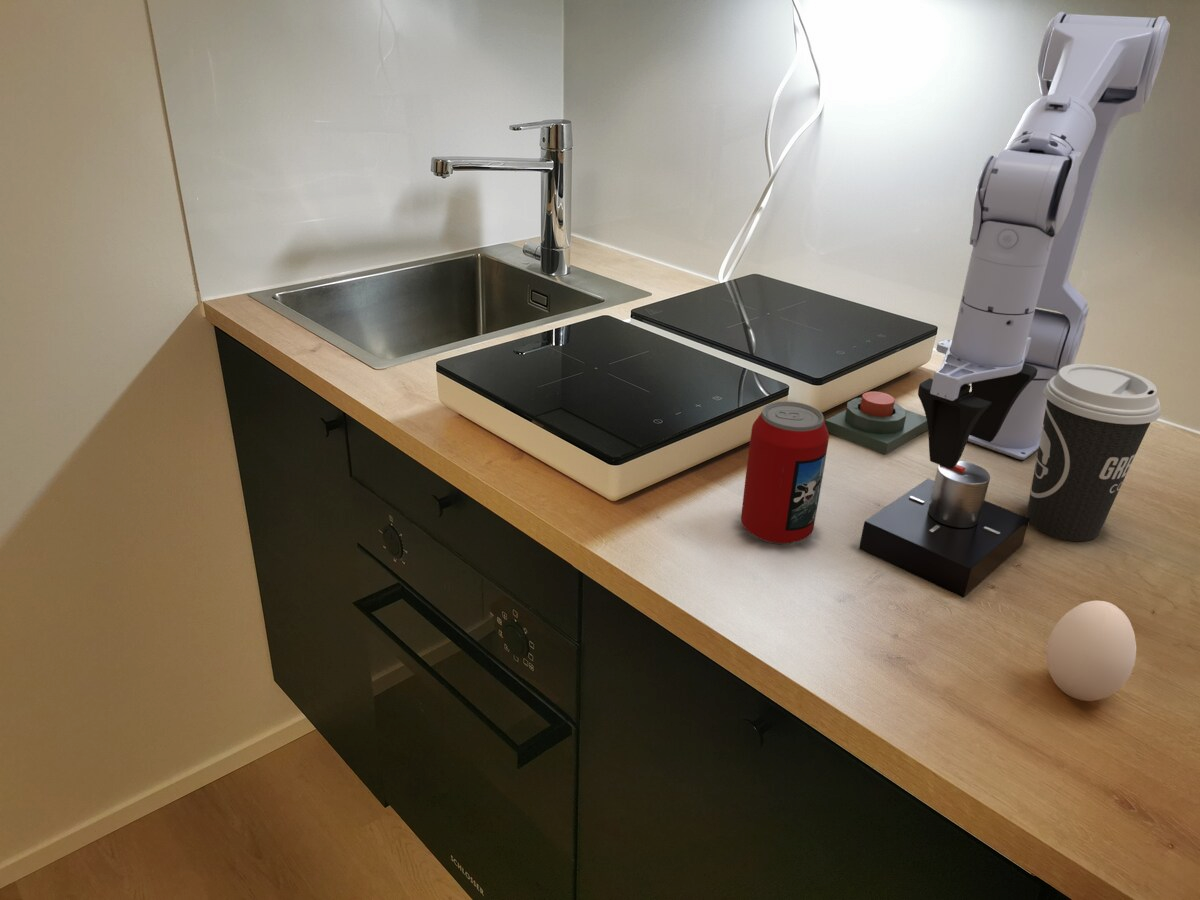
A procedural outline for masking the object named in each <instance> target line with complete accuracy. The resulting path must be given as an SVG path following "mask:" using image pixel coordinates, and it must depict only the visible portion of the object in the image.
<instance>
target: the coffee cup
mask: <svg viewBox="0 0 1200 900" xmlns="http://www.w3.org/2000/svg"><path fill="white" fill-rule="evenodd" d="M1043 393H1044V395H1045V397H1046V398H1047V403H1046V409H1045V415H1044V421H1043V426H1042V432H1041V437H1040V443H1039V448H1038V450H1037V454H1036V460H1035V464H1034V471H1033V477H1032V481H1031V487H1030V492H1029V498H1028V504H1027V509H1026V516H1025V517H1028V518H1030V520H1029V524H1030V525H1031V526H1032V527H1034V528H1035V529H1037V530H1038V531H1040V532H1042V533H1043V534H1046V535H1048V536H1049V537H1053V538H1056V539H1060V540H1063V541H1070V542H1088V541H1092V540H1094V539H1096V538H1097V537H1099V535H1100V533H1101V531H1102V529H1103V526H1104V524H1105V522H1106V520H1107V517H1108V515H1109V513H1110V511H1111V509H1112V507H1113V504H1114V502H1115V500H1116V498H1117V496H1118V494H1119V492H1120V489H1121V487H1122V485H1123V483H1124V482H1125V481H1124V480H1125V479H1126V476H1127V475H1128V472H1129V470H1130V468H1131V466H1132V463H1133V462H1134V459H1135V457H1136V455H1137V452H1138V451H1139V448H1140V446H1141V444H1142V442H1143V440H1144V437H1145V436H1146V433H1147V432H1148V430H1149V427H1150V425H1151V423H1153V422H1155V421H1157V420H1158V419H1159V418H1160V417H1161V414H1162V413H1161V412H1162V411H1161V409H1162V406H1161V401H1160V399H1159V398H1158V388H1157V386H1156V385H1155V384H1154V383H1153V382H1152V381H1151V380H1149V379H1148V378H1146V377H1143V376H1141V375H1140V374H1138V373H1135V372H1131V371H1129V370H1126V369H1123V368H1122V369H1121V368H1118V367H1114V366H1108V365H1103V364H1094V363H1074V364H1072V365H1067V366H1064V367H1062V368H1061V369H1060V370H1059V372H1058V373H1057V375H1056V376H1054V377H1053V378H1051V379H1050V381H1049V382H1048V383H1047V385H1046V386H1045V388H1044V390H1043Z"/></svg>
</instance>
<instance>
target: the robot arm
mask: <svg viewBox="0 0 1200 900" xmlns="http://www.w3.org/2000/svg"><path fill="white" fill-rule="evenodd" d="M1170 29H1171V23H1170V22H1169V20H1168V18H1167V16H1165V15H1162V16H1158V17H1145V16H1123V15H1100V14H1099V15H1097V14H1074V13H1068V12H1066V11H1059V12H1058V13H1057V14H1056V15H1055V16H1054V17H1052V18H1051V20H1050V21H1049V22H1048V24H1047V26H1046V29H1045V31H1044V35H1043V37H1042V41H1041V46H1040V50H1039V54H1038V59H1037V65H1036V66H1037V67H1036V68H1037V69H1036V75H1037V78H1038V84H1039V92H1040V94H1041V97H1040V98H1038V99H1036V100H1034V101H1033V102H1032V103H1031V104H1030V105H1029V106H1028V107H1027V108H1026V110H1025V111H1024V113H1023V114H1022V117H1021V119H1020V120H1019V122H1018V124H1017V126H1016V128H1015V129H1014V132H1013V133H1012V135H1011V137H1010V139H1009V141H1008V142H1007V145H1006V146H1005V148H1004V149H1002V150H1001V151H1000V152H999V153H998V156H994V155H993V154H990V155H989V156H988V157H987V159H986V161H985V162H984V164H983V167H982V170H981V171H980V175H979V178H978V181H977V184H976V189H975V193H974V200H973V213H972V214H973V216H972V217H973V218H972V227H971V231H970V237H969V245H971V246H972V250H971V252H970V253H971V254H970V258H969V261H968V267H967V272H966V276H965V281H964V285H963V288H962V289H963V290H962V294H961V298H960V302H959V308H958V312H957V316H956V321H955V326H954V331H953V335H952V339H948V338H947V339H943V340H941V341H939V342H937V344H936V349H935V350H936V351H937V353H940V354H944V358H943V360H942V363H941V366H940V368H939V369H937V370H936V371H935V372H934V373H933V377H932V378H931V377H929V378H927V379H925V380H924V381H922V382H920V383H919V386H918V389H917V396H918V398H919V401H920V403H921V405H922V408H923V411H924V416H926V419H927V425H928V430H927V434H928V435H927V436H928V452H929V453H928V454H929V455H928V456H929V461H930V462H931V463H934V464H937V465H938V466H939V465H941V466H944V467H947V468H949V469H952V468H954V467H955V466H956V464H957V463H958V461H960V459H961V457H962V455H963V453H964V450H965V448H966V446H967V442H970V443H973V444H975V445H978V446H980V447H983V448H986V449H989V450H992V451H995V452H998V453H1001V454H1003V455H1006V456H1010V457H1011V458H1014V459H1017V460H1026V459H1027V458H1028V457H1029V456H1031V455H1033V454H1034V453H1035V452H1037V451H1038V448H1039V443H1040V437H1041V432H1042V426H1043V421H1044V415H1045V409H1046V403H1047V398H1046V397H1045V395H1044V393H1043V390H1044V388H1045V386H1046V385H1047V383H1048V382H1049V381H1050V379H1051V378H1053V377H1054V376H1056V375H1057V373H1058V372H1059V370H1060V369H1061V368H1062V367H1064V366H1067V365H1072V364H1075V361H1076V358H1077V356H1078V353H1079V350H1080V348H1081V344H1082V340H1083V337H1084V334H1085V330H1086V329H1085V328H1086V324H1087V323H1086V321H1087V317H1088V314H1089V310H1090V309H1089V306H1088V301H1087V299H1086V298H1085V297H1084V296H1083V295H1082V294H1081V293H1080V292H1079V291H1078V290H1077V289H1076V288H1075V286H1074V285H1073V284H1072V283H1071V282H1070V280H1069V277H1070V274H1071V271H1072V267H1073V264H1074V260H1075V258H1076V257H1075V256H1076V253H1077V249H1078V246H1079V243H1080V240H1081V237H1082V232H1083V229H1084V226H1085V223H1086V222H1085V221H1086V219H1087V216H1088V212H1089V208H1090V205H1091V202H1092V199H1093V195H1094V191H1095V187H1096V184H1097V180H1098V177H1099V173H1100V170H1101V166H1102V163H1103V160H1104V156H1105V152H1106V149H1107V146H1108V143H1109V139H1110V138H1111V135H1112V133H1113V132H1114V130H1115V128H1116V127H1117V125H1118V124H1119V122H1120V120H1121V119H1122V118H1124V117H1127V116H1130V115H1135V114H1137V113H1141V112H1143V110H1144V107H1145V104H1147V103H1148V102H1149V100H1150V98H1151V94H1152V90H1153V87H1154V85H1155V82H1156V78H1157V76H1158V73H1159V70H1160V66H1161V64H1162V61H1163V57H1164V54H1165V50H1166V46H1167V43H1168V39H1169V35H1170Z"/></svg>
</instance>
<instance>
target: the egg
mask: <svg viewBox="0 0 1200 900" xmlns="http://www.w3.org/2000/svg"><path fill="white" fill-rule="evenodd" d="M1045 649H1046V650H1045V652H1046V653H1045V660H1046V666H1047V670H1048V672H1049V675H1050V676H1051V678H1052V680H1053V682H1054V684H1055V685H1056V686H1057V687H1058V688H1059V689H1060V690H1061V691H1062V692H1063V693H1065V694H1066V695H1067V696H1069V697H1070V698H1073V699H1076V700H1078V701H1084V702H1085V701H1086V702H1094V701H1098V700H1104V699H1107V698H1108V697H1110V696H1112V695H1114V694H1116V693H1117V692H1118V691H1120V689H1122V688H1123V687H1124V686H1125V685H1126V684H1127V682H1128V680H1129V678H1130V677H1131V675H1132V673H1133V671H1134V668H1135V664H1136V659H1137V641H1136V635H1135V631H1134V628H1133V626H1132V622H1131V621H1130V618H1129V617H1128V615H1126V613H1125V612H1124V611H1123V610H1122V609H1121V608H1119V607H1118V606H1117V605H1115V604H1113V603H1111V602H1109V601H1106V600H1105V601H1104V600H1097V599H1096V600H1089V601H1086V602H1082V603H1080V604H1078V605H1077V606H1075V607H1073V608H1072V609H1070V610H1068V611H1067V612H1066V613H1065V614H1064V615H1063V616H1062V617H1061V618H1060V619H1059V620H1058V621H1057V623H1056V624H1055V626H1054V627H1053V629H1052V630H1051V633H1050V635H1049V637H1048V640H1047V645H1046V648H1045Z"/></svg>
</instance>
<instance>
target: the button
mask: <svg viewBox="0 0 1200 900" xmlns="http://www.w3.org/2000/svg"><path fill="white" fill-rule="evenodd" d="M861 398H862V400H861V405H860V411H862V412H863V413H866V414H868V415H871V416H878V417H887V416H891V415H892V413H893V408H894V403H896V399H895V398H894V396H892V395H891V394H888V393H885V392H882V391H867V392H864V393H863V394H862V395H861Z"/></svg>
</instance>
